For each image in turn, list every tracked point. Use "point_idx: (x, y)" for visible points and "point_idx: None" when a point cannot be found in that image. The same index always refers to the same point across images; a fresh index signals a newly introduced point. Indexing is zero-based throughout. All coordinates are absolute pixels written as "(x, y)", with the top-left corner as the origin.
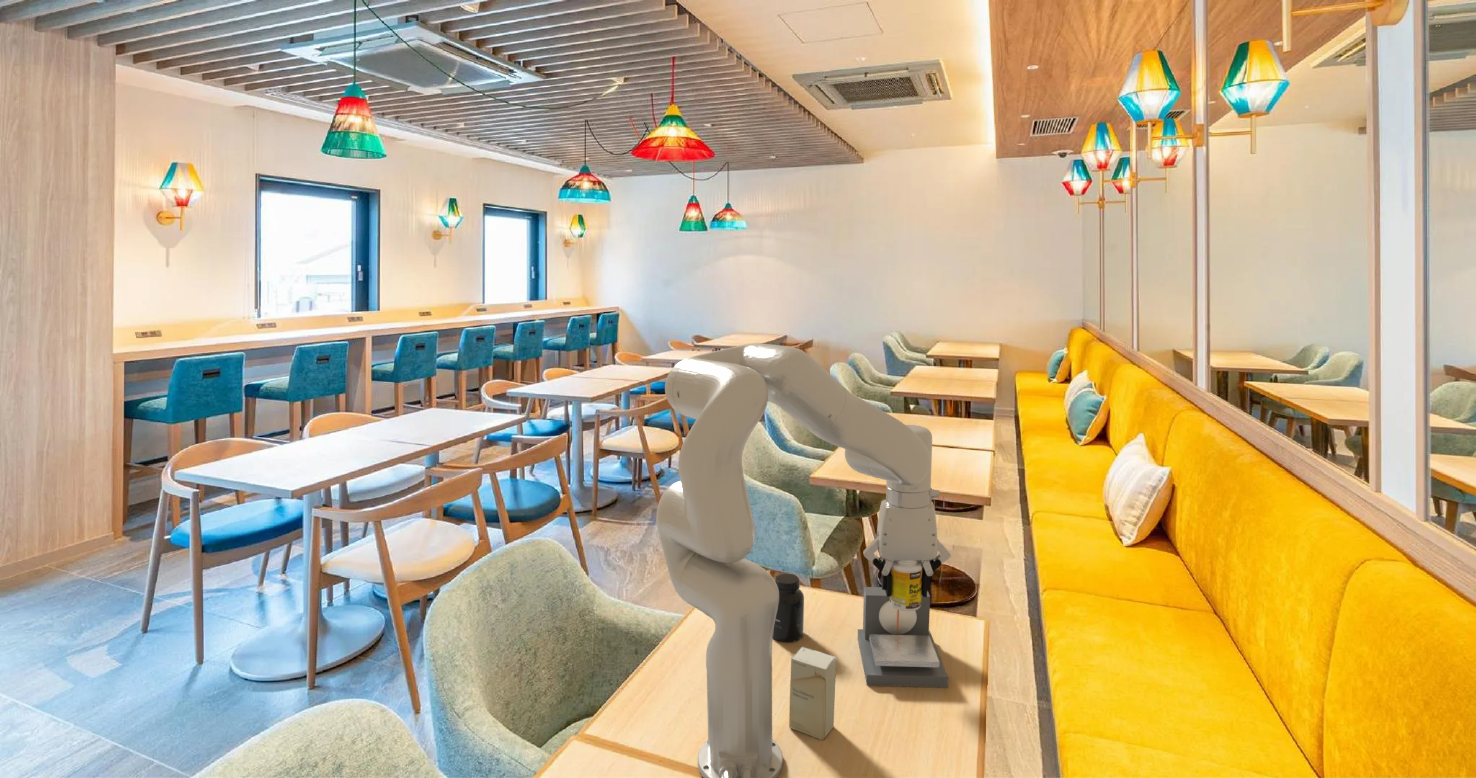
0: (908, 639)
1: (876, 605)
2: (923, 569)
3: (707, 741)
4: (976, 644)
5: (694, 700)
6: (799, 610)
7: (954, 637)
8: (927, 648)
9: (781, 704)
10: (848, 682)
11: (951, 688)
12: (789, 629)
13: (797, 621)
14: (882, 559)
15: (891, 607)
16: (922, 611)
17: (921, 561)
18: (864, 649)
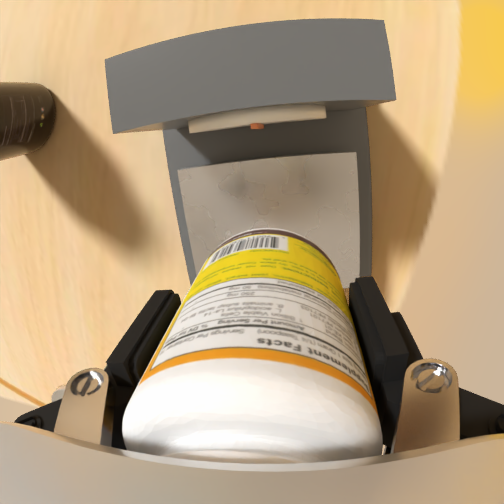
0: (291, 181)
1: (170, 123)
2: (385, 424)
3: (53, 401)
4: (456, 82)
5: (5, 325)
6: (5, 142)
7: (413, 49)
8: (341, 226)
9: (83, 334)
10: (162, 271)
11: (372, 266)
12: (21, 154)
13: (21, 144)
14: (60, 424)
15: (227, 126)
16: (350, 104)
17: (393, 441)
18: (177, 182)
